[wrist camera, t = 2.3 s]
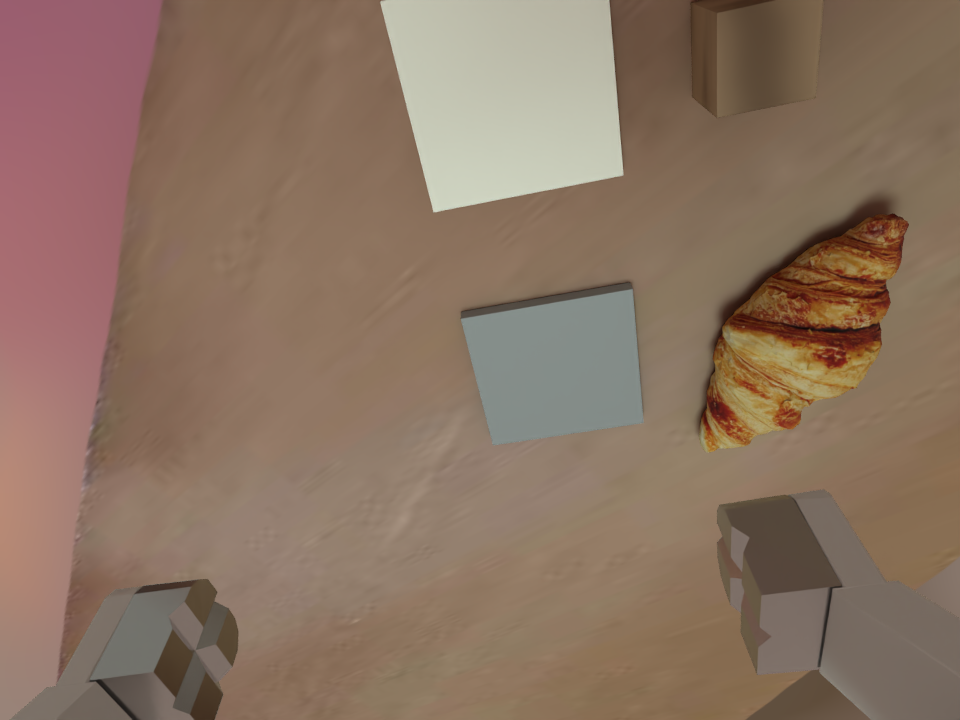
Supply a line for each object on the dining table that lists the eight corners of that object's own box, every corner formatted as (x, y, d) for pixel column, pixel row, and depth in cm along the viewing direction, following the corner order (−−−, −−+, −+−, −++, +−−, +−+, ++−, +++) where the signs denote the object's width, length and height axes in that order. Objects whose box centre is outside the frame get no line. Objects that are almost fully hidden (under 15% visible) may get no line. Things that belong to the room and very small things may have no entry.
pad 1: (602, -52, 34) (605, -52, 33) (620, 170, 41) (623, 175, 40) (382, 0, 35) (380, 1, 35) (434, 206, 42) (433, 212, 41)
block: (784, -19, 35) (824, -11, 31) (779, 78, 38) (815, 98, 34) (690, 2, 36) (717, 13, 31) (691, 96, 38) (716, 118, 34)
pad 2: (629, 282, 45) (632, 289, 44) (641, 414, 51) (643, 422, 51) (461, 311, 46) (460, 318, 46) (492, 437, 53) (493, 445, 52)
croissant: (718, 416, 56) (785, 487, 51) (637, 424, 51) (703, 504, 46) (887, 197, 45) (994, 260, 40) (805, 175, 39) (918, 246, 34)
